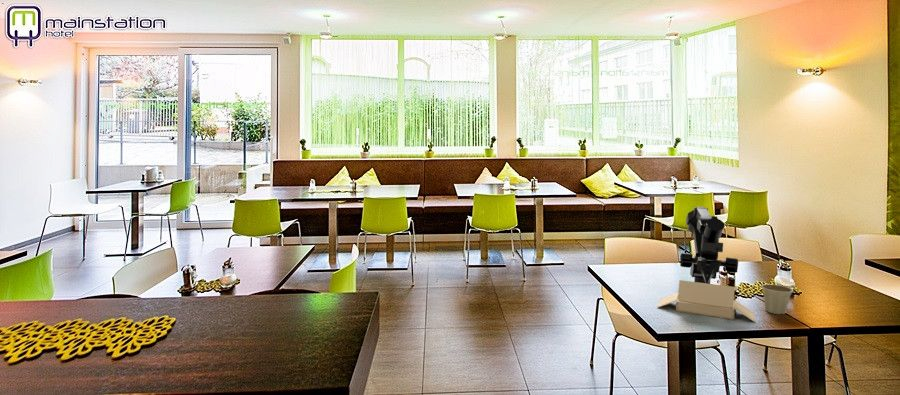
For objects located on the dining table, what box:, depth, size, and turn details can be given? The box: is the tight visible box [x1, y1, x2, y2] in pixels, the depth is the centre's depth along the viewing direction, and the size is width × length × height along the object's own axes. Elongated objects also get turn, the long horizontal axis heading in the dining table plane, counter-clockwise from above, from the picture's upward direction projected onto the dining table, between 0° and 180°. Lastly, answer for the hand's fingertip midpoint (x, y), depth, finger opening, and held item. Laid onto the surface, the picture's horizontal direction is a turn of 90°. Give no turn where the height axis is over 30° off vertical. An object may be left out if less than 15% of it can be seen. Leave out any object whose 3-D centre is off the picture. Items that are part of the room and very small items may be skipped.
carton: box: [657, 292, 756, 323], centre depth 186 cm, size 16×30×4 cm, turn 62°
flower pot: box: [761, 284, 794, 315], centre depth 184 cm, size 9×9×9 cm
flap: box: [677, 280, 736, 308], centre depth 179 cm, size 1×17×7 cm, turn 64°
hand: (706, 282), depth 186 cm, fingers closed
